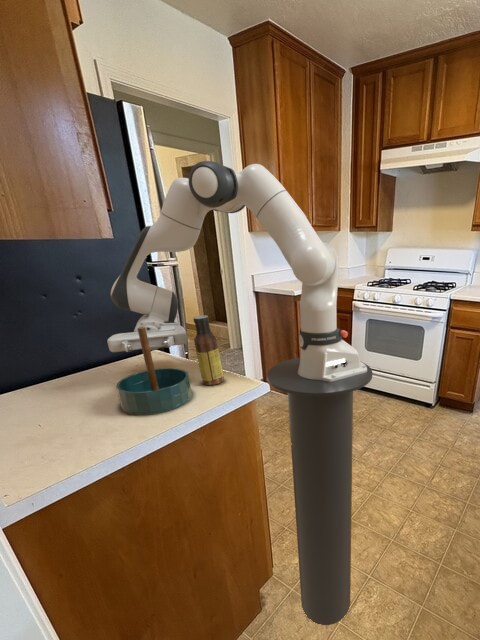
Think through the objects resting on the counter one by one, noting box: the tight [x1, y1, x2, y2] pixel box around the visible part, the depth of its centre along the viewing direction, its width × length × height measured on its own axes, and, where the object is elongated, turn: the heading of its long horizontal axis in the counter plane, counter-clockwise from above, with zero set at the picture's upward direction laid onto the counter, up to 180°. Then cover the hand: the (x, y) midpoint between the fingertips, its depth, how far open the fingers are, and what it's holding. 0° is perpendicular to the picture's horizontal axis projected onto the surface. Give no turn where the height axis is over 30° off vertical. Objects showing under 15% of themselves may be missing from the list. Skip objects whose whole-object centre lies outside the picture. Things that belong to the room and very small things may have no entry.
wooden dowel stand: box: [137, 327, 159, 391], centre depth 91 cm, size 5×5×19 cm
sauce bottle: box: [192, 315, 225, 386], centre depth 102 cm, size 7×6×20 cm
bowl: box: [115, 367, 193, 416], centre depth 94 cm, size 17×17×6 cm
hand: (148, 346), depth 94 cm, fingers open, 8 cm apart
